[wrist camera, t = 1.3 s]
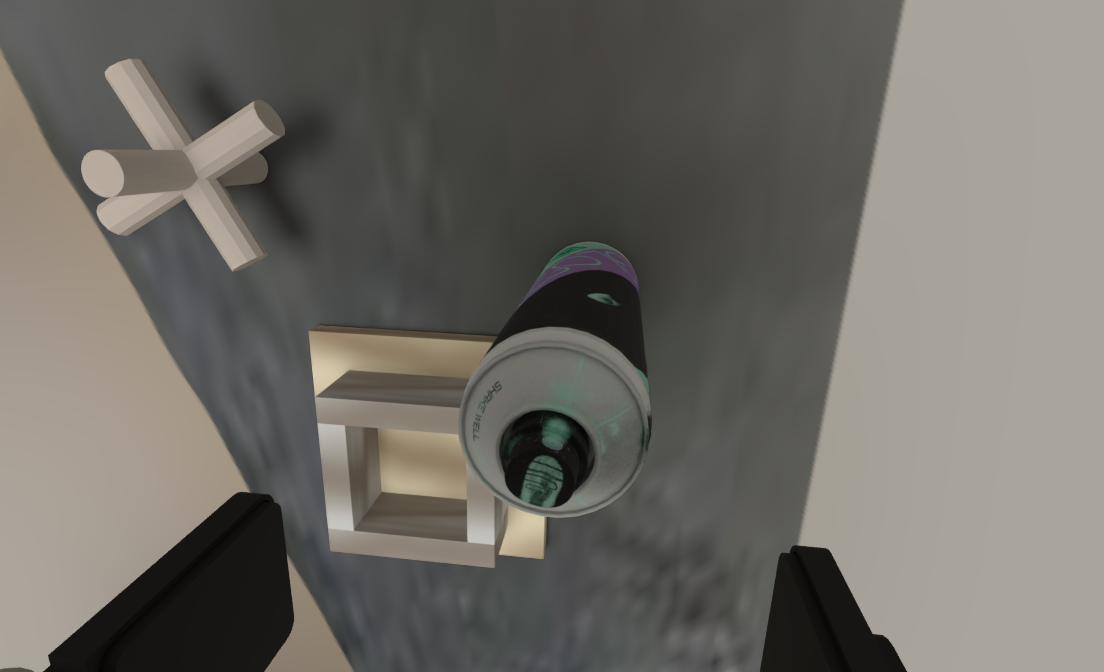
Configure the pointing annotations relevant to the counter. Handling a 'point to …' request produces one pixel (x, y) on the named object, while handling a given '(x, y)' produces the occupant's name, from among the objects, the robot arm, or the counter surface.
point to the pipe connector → (181, 165)
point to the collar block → (407, 450)
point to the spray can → (563, 390)
